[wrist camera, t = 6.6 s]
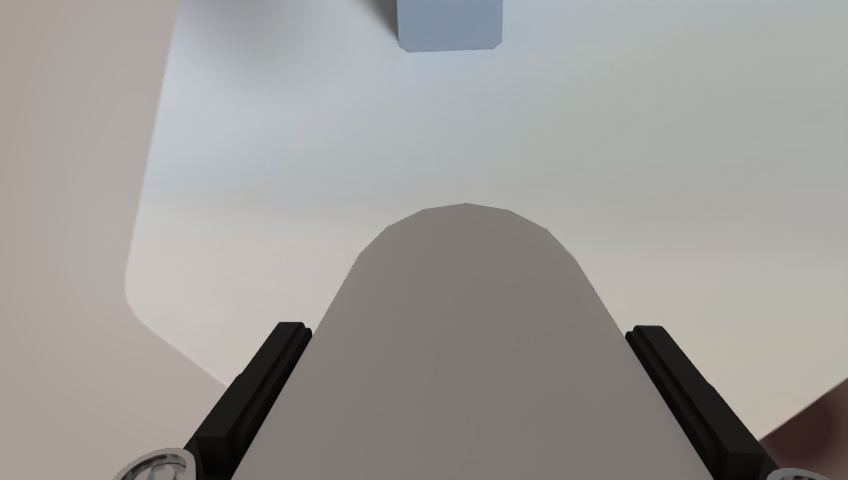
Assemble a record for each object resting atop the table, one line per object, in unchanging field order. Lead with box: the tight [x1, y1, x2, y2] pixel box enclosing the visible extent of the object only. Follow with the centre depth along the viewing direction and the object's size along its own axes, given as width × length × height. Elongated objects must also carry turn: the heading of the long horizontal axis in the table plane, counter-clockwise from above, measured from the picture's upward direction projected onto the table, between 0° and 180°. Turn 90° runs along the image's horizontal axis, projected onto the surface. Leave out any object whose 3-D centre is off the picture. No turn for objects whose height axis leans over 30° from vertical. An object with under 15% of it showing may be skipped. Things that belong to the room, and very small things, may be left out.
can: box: [231, 203, 714, 480], centre depth 9 cm, size 8×8×12 cm
